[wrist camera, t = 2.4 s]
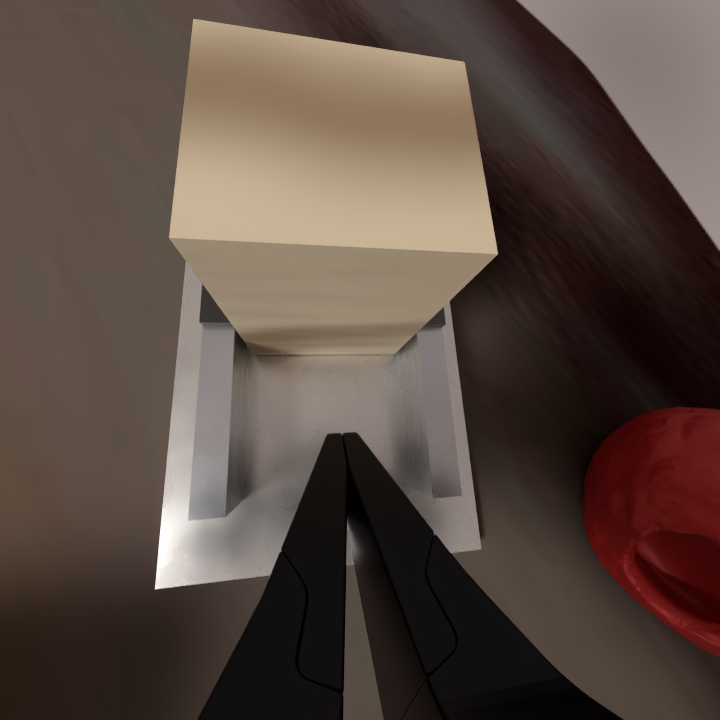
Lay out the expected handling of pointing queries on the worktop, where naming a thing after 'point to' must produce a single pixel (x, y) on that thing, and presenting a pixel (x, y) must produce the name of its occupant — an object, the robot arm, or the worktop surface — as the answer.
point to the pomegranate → (662, 516)
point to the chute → (300, 440)
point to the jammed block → (327, 189)
